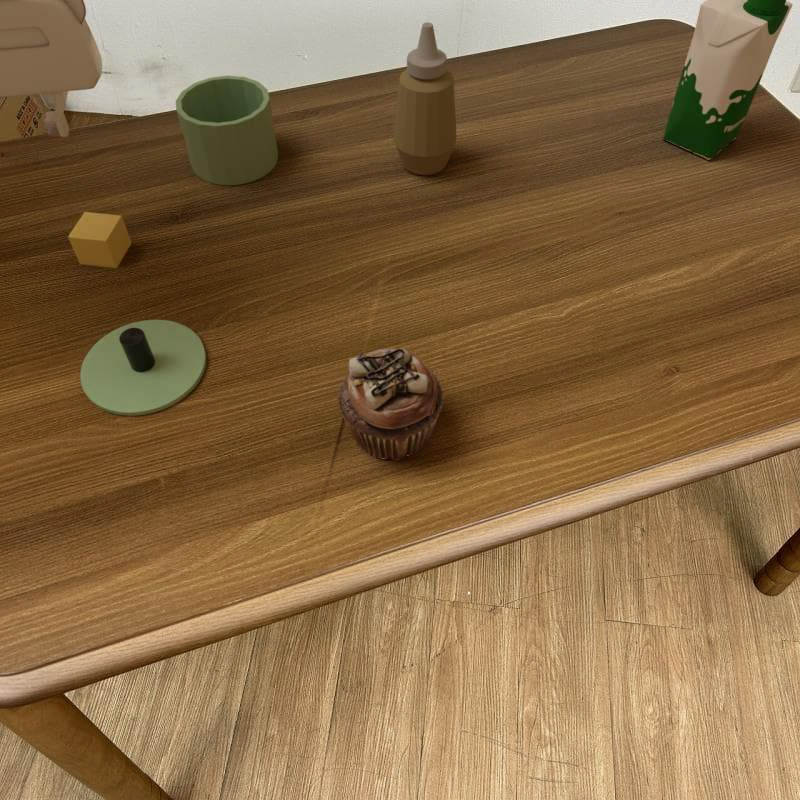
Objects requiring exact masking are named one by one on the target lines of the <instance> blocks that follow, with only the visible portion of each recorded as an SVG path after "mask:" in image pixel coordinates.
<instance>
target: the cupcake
mask: <svg viewBox="0 0 800 800" xmlns="http://www.w3.org/2000/svg"><path fill="white" fill-rule="evenodd" d="M342 382H343V383H342V385H340V386H339V388H340V390H339V391H338V394H339V397H338V398H337V401H338V407H339V409H340V411H339V412H340V413H341V416H342V418H343V419H344V421H345V423H346V424H347V426H348V428H349V431H350V435H351V437H353V439H354V441H355V442H356V444H357V445H358V446H359V445H360V446H361V447H360V446H359V447H360V449H361V450H363V449H364V450H365V451H366V452H365V451H364V450H363V451H364V452H365V453H367V452H368V453H367V454H368V455H369V454H370V455H374V456H375V457H379V458H385V459H393V460H392V461H396V460H395V459H401V460H403V459H402V458H404V457H406V456H407V455H409V456H408V457H411V456H410V455H413V454H415V453H417V452H419V451H420V450H421V449H422V448H423V447H424V448H425V447H426V445H427V444H428V443H429V442H430V440H429V439H431V437H432V434H433V432H434V429H435V426H436V424H437V422H438V419H439V416H440V414H441V410H442V408H443V403H444V396H445V395H444V393H443V390H442V386H441V382H440V381H438V376H437V374H434V370H432V369H431V368H430V367H429V366H428V365H427V364H426V363H425V362H424V361H423V360H422V359H421V358H420V357H418V356H417V355H415V354H414V353H412V352H410V351H408V350H406V349H401V348H380V349H379V348H378V349H377V350H374V351H372V352H369V353H367V354H364V353H362V352H359V353H358V354H357V356H356V357H352V358H350V359H349V361H348V373H347V375H346V378H345V379H344V380H342ZM428 441H429V442H428ZM427 442H428V443H427ZM426 443H427V444H426ZM424 448H423V449H424ZM423 449H422V450H423ZM422 450H421V451H422ZM421 451H420V452H421ZM420 452H419V453H420ZM417 454H418V453H417ZM370 455H369V456H370ZM415 455H416V454H415ZM413 456H414V455H413ZM375 457H374V458H375ZM379 458H378V459H379ZM406 458H407V457H406ZM385 459H384V460H385ZM404 459H405V458H404Z"/></svg>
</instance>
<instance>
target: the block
mask: <svg viewBox="0 0 800 800" xmlns="http://www.w3.org/2000/svg"><path fill="white" fill-rule="evenodd" d="M67 239H68V241H69V242H70V243H69V244H70V245H71V247H72V249H73V252H74V254H75V257H76V258H77V259H78V260H77V261H78V263H79V264H80V265H85V266H94V267H102V268H103V267H104V268H110V269H111V268H113V269H117V268H118V267H119V265H120V264H121V262H122V260H123V259H124V257H125V255H126V253H127V252H128V250H129V249H130V246H131V245H132V239H131V237H130V235H129V232H128V229H127V227H126V224H125V221H124V218H123V216H122V215H121V214H110V213H109V214H108V213H99V212H91V211H90V212H89V211H84V212H83V213H82V215H81V217H80V218H79V220H78V221H77V222H76V224H75V226H74V227H73V228H72V230H71V231H70V233H69V235H68V236H67Z"/></svg>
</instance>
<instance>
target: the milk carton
mask: <svg viewBox="0 0 800 800" xmlns="http://www.w3.org/2000/svg"><path fill="white" fill-rule="evenodd" d="M793 6H794V5H793V3H792V2H790V1H787V0H705V1H703V2H702V3H701V4H700V6H699V11H698V15H697V20H696V24H695V28H694V32H693V35H692V39H691V42H690V46H689V48H688V52H687V56H686V59H685V63H684V65H683V69H682V72H681V75H680V78H679V82H678V85H677V88H676V91H675V95H674V98H673V101H672V104H671V108H670V112H669V115H668V119H667V123H666V127H665V130H664V134H663V138H664V139H665V140H668V141H671V142H673V143H675V144H677V145H679V146H682V147H684V148H686V149H689V150H691V151H692V152H695V153H698V154H700V155H703V156H705V157H707V158H712V157H714V156H715V155H716V154H717V153H718V152H719V151H720V150H722V149H723V148H724V147H725V146H726V145H727V144H729V143H730V142H731V141H732V140H733V139H734V138H735V137H736V138H737V137H738V135H739V133H740V131H741V128H742V127H743V124H744V123H745V119H746V118H747V115H748V113H749V110H750V108H751V106H752V103H753V100H754V98H755V95H756V93H757V90H758V87H759V86H760V83H761V81H762V78H763V75H764V72H765V71H766V67H767V65H768V63H769V60H770V58H771V55H772V52H773V51H774V47H775V45H776V43H777V40H778V38H779V36H780V34H781V32H782V29H783V27H784V26H785V23H786V21H787V18H788V16H789V14H790V13H791V9H792V7H793ZM663 138H662V139H663ZM729 145H730V144H729ZM723 150H724V149H723ZM723 150H722V151H723ZM717 155H718V154H717ZM717 155H716V156H717ZM716 156H715V157H716ZM715 157H714V158H715Z"/></svg>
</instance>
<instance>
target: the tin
mask: <svg viewBox="0 0 800 800" xmlns="http://www.w3.org/2000/svg"><path fill="white" fill-rule="evenodd" d="M175 109H176V115H177V118H178V122H179V126H180V129H181V130H180V131H181V134H182V138H183V141H184V145H185V148H186V152H187V157H188V160H189V163H190V167H191V169H192V171H193V172H194V174H195V175H196V176H197V177H198V178H200V179H201V180H202V181H205V182H207V183H210V184H214V185H219V186H239V185H244V184H248V183H252V182H255V181H258V180H260V179H261V178H263V177H265V176H267V174H270V172H272V170H273V169H274V168H275V166H277V163H278V160H279V150H278V143H277V138H276V131H275V124H274V119H273V114H272V112H273V111H272V105H271V98H270V95H269V91H268V89H267V88H266V87H265V86H264V85H263V84H262V83H261V82H260V81H258V80H254V79H253V78H249V77H247V76H239V75H221V76H213V77H208V78H204V79H202V80H199V81H196V82H194V83H192V84H191V85H189V86H188V87H186V88H185V89H183V90H182V91H181V92H180V93H179V95H178V96H177V98H176V100H175Z"/></svg>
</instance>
